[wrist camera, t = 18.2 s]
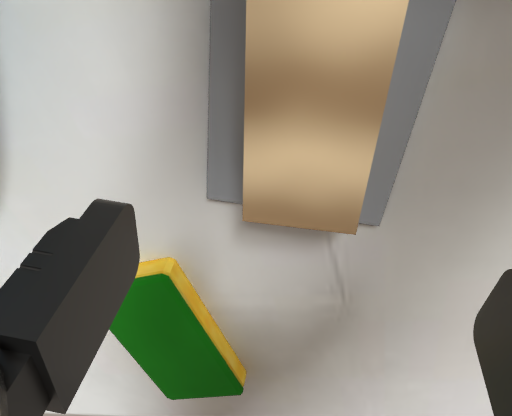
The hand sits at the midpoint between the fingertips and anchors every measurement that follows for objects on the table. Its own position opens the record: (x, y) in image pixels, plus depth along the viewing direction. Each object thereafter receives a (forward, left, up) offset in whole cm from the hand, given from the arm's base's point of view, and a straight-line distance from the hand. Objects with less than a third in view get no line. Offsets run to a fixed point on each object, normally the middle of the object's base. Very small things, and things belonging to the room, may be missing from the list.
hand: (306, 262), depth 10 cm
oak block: (0, 0, -13) cm, 13 cm away
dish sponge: (+22, -8, -14) cm, 27 cm away
